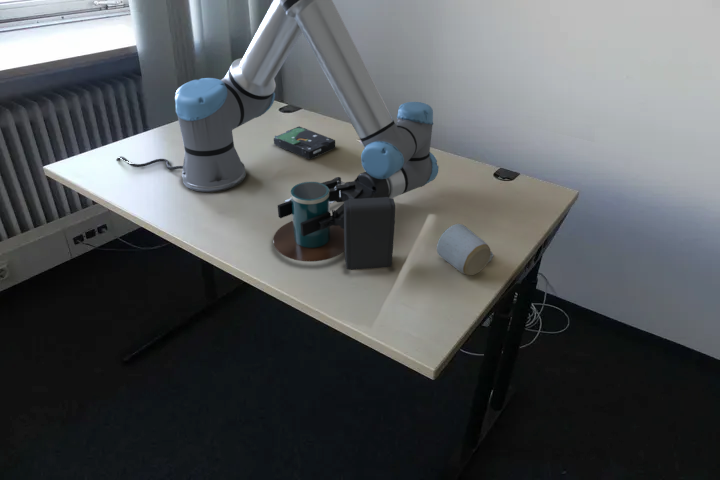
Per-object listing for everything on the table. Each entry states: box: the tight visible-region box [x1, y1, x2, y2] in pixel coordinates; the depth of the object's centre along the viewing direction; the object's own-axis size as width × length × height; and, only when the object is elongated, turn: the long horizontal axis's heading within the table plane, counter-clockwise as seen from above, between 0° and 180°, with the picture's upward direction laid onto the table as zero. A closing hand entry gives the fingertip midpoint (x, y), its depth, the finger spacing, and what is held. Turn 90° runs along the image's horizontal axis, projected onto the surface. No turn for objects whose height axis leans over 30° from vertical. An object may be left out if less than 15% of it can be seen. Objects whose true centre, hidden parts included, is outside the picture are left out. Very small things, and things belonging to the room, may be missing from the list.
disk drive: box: [273, 125, 336, 160], centre depth 145 cm, size 10×3×15 cm
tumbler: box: [290, 181, 331, 248], centre depth 103 cm, size 8×8×11 cm
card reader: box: [343, 197, 396, 271], centre depth 96 cm, size 9×4×15 cm, turn 97°
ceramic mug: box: [436, 223, 494, 276], centre depth 100 cm, size 11×8×8 cm
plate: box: [272, 220, 345, 262], centre depth 107 cm, size 16×16×1 cm
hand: (290, 220), depth 100 cm, fingers closed on tumbler, 7 cm apart
